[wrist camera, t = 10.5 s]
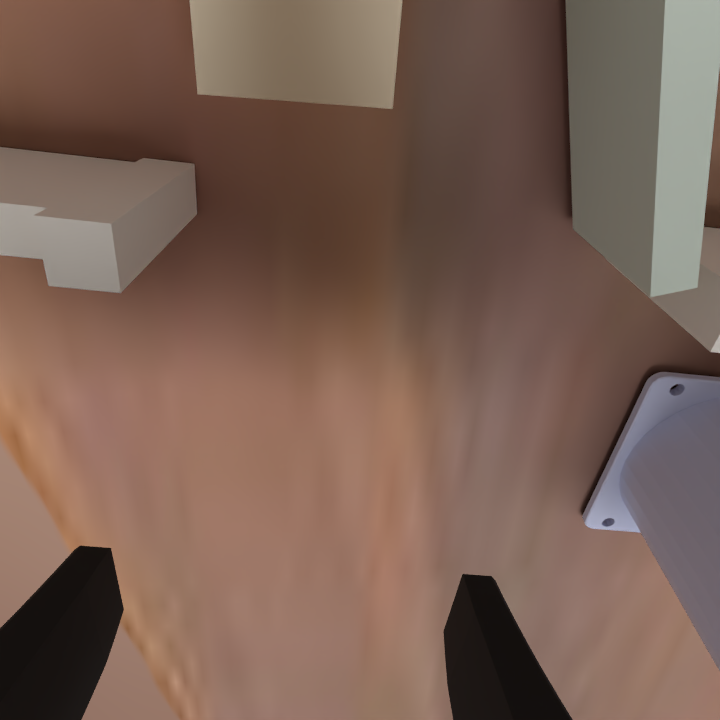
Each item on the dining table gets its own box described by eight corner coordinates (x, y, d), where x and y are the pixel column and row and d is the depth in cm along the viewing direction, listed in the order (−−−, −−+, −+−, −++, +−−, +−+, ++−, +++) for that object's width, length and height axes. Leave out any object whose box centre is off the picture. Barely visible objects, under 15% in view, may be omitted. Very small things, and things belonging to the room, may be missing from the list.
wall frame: (806, 233, 16) (1007, 319, 11) (781, 277, 17) (959, 376, 12) (-70, 133, 15) (-295, 180, 10) (-55, 186, 16) (-255, 255, 11)
